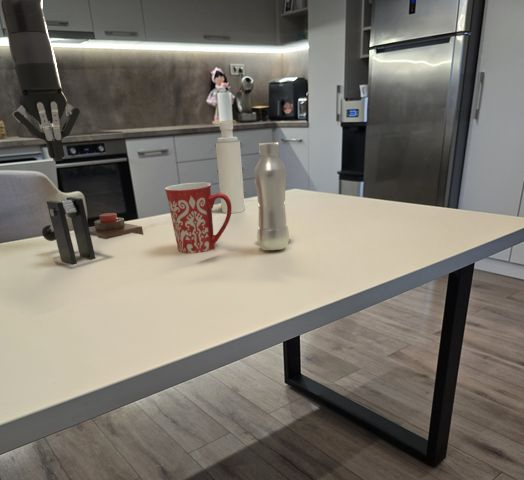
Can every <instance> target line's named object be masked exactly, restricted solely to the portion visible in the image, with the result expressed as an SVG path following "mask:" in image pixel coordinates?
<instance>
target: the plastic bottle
mask: <svg viewBox="0 0 524 480" xmlns="http://www.w3.org/2000/svg"><path fill="white" fill-rule="evenodd" d="M279 149H280V147H279V142H263V143H258V150H259V151H258V154H259V155H260V158H259V160H258V162H257V164H256V166H255V168H254V170H253V180H254V185H255V191H256V197H257V204H258V205H257V207H258V223H257V225H258V227H257V234H256V238H257V243H258V246H259V248H260V249H261V250H264V251H278V250H282V249H285V248H287V246H288V244H289V239H290V232H289V227H288V225H287V224H288V223H287V212H286V188H287V177H288V171H287V168H286V166H285V164H284V162H283V161H282V160H281V159H280V157H279V154H280V150H279Z"/></svg>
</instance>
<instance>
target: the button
mask: <svg viewBox="0 0 524 480" xmlns="http://www.w3.org/2000/svg"><path fill="white" fill-rule="evenodd" d="M117 217H118V215H117V213H116V212H107V213H102V214H99V219H100V222H113V221H117V220H118V219H117Z"/></svg>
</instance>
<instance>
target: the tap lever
mask: <svg viewBox="0 0 524 480" xmlns="http://www.w3.org/2000/svg"><path fill="white" fill-rule="evenodd" d="M60 202H62V203H63V207H64V211H65V215H66V219H71V218H72V217H73V216H74V215H75V213H76V212H77V210H76V208H75V206H74V204H73V202H72V200H67V199H66V200H62V201H60ZM41 235H42V237H43V238H44V239H45V240H46V241H48V242H54V241H56V238H55V234H54V230H53V226H52V224H48V225H45V226H44V227H43V228H42V231H41Z"/></svg>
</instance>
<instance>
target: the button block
mask: <svg viewBox="0 0 524 480" xmlns="http://www.w3.org/2000/svg"><path fill="white" fill-rule="evenodd" d="M117 219H118V220H117V221H113V222H100V218H99V219H96V220H94V222H93V223H94V225H92V226H89V231H90V235H91V236H95V237H98V238H100V239H104V240H108V239H113V238H118V237H121V236H125V235H129V234H136V235H142V236H144V230H143V226H142V225H136V224H133V223H132V224H131V223H127V222H126V223H125V219H124V217H120V216H119V217H118V216H117Z"/></svg>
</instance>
